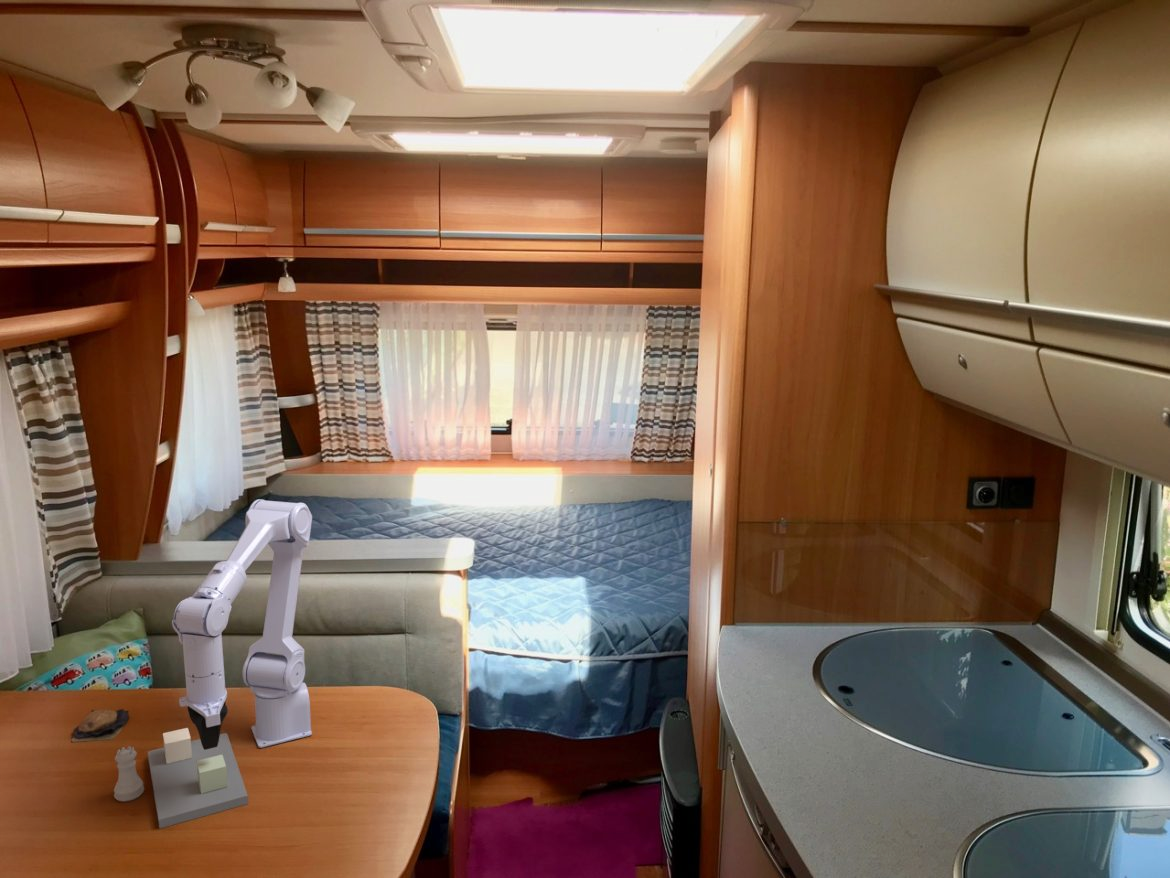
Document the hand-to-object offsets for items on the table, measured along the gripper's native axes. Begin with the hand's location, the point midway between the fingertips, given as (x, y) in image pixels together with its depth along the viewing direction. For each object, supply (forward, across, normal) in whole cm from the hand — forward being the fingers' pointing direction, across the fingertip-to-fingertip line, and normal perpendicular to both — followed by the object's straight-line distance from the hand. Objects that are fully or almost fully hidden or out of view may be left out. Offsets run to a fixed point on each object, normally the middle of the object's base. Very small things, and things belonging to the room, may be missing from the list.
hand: (210, 746), depth 140 cm
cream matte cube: (+7, -12, -4) cm, 14 cm away
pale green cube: (+7, 0, 0) cm, 7 cm away
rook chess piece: (+8, -6, -12) cm, 16 cm away
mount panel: (+8, -5, -2) cm, 10 cm away
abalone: (+9, -32, -15) cm, 37 cm away
